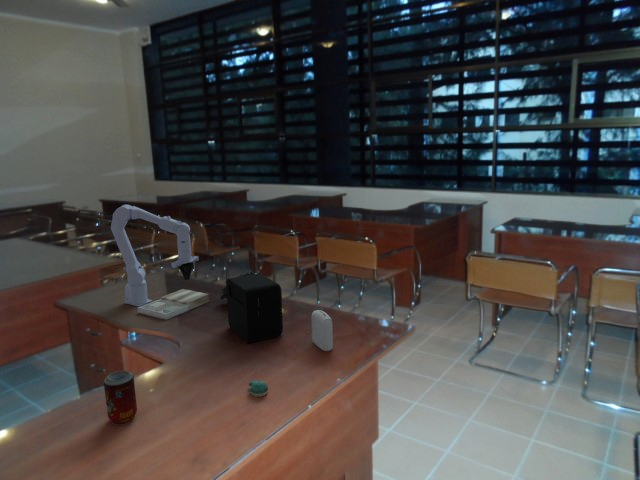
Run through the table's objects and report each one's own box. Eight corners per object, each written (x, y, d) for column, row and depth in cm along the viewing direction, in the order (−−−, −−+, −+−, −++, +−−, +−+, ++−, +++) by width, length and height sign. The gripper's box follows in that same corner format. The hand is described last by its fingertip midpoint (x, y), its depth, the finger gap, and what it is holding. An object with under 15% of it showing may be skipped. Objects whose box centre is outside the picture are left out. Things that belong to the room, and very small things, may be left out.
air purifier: (286, 336, 171) (284, 284, 167) (248, 345, 163) (246, 291, 159) (263, 319, 188) (261, 271, 184) (228, 327, 180) (225, 277, 176)
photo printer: (310, 341, 166) (309, 308, 164) (321, 339, 168) (320, 306, 165) (323, 352, 157) (322, 317, 155) (334, 350, 159) (334, 315, 156)
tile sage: (171, 305, 198) (172, 309, 199) (162, 308, 194) (163, 313, 195) (180, 307, 196) (180, 311, 196) (171, 310, 192) (171, 315, 192)
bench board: (161, 304, 207) (161, 297, 206) (183, 296, 218) (183, 289, 217) (187, 310, 199) (187, 302, 198) (209, 301, 210) (208, 294, 209)
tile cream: (158, 301, 203) (158, 305, 204) (149, 305, 199) (149, 309, 200) (166, 303, 201) (166, 307, 201) (157, 306, 197) (157, 311, 197)
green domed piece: (252, 400, 129) (252, 388, 128) (243, 388, 135) (242, 376, 134) (272, 394, 132) (271, 382, 131) (262, 383, 138) (261, 371, 137)
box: (138, 313, 197) (137, 307, 196) (161, 304, 207) (160, 299, 207) (166, 320, 189) (166, 314, 188) (188, 310, 199) (188, 305, 198)
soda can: (103, 420, 120) (98, 376, 118) (129, 408, 126) (124, 366, 123) (116, 430, 116) (111, 385, 113) (143, 417, 121) (138, 374, 119)
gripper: (178, 254, 201) (181, 284, 204) (202, 247, 213) (204, 276, 216) (167, 252, 204) (169, 282, 207) (191, 246, 217) (193, 274, 219)
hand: (186, 279), depth 212 cm, fingers closed
